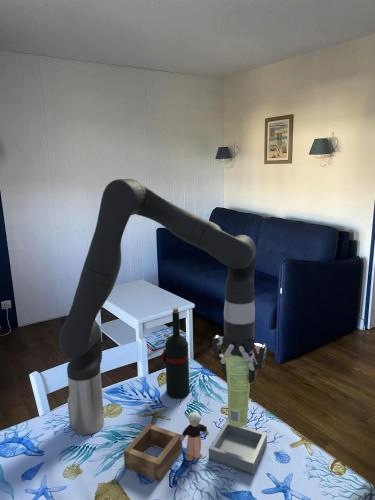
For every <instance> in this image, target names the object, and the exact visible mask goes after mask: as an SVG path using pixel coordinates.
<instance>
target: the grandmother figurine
mask: <svg viewBox="0 0 375 500" xmlns="http://www.w3.org/2000/svg"><path fill="white" fill-rule="evenodd" d="M187 419H188V422H189V425H187V426H186V428H185V429H184V430H183V431H182V434H181V435H182V436H181V438H180V440H181V441H182V442H184V440H185V438H186V437H187V439H186V454H185V461H190V462H191V461H192V460H193V459H195V458H196V459H200V458H202V457H203V454H202V452H201V449H202V435H201V432H203V433H204V434H205V435H206V436H209V434H210V433H209V430H208V428H207V426H206V425H204V424H201V423H200V421H201V420H202V417H201V415H200V414H199V413H197V412H195V411H193V412H190V413H189V415H188V417H187Z"/></svg>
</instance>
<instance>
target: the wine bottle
mask: <svg viewBox="0 0 375 500" xmlns="http://www.w3.org/2000/svg"><path fill="white" fill-rule="evenodd" d="M164 346H165V347H164V348H163V350H162V351H163V352H162V353H161V360H162V362H163V363H162V368H164V365H165V381H166V382H165V386H166V387H165V388H166V395H167V397H168V398H170V399H175V400H179V399H180V400H181V399H184V398H186V397H188V396H189V395H190V391H191V390H190V367H189V365H190V363H189V360H190V359H189V343H188V340H187V339H186V337H184V336H183V335H181V333H180V312H179V308H178V307H174V308H172V335H170V336H169V337H168V338H167V340H166V341H165V344H164ZM163 374H164V370H162V372H161V376H160V378H159V380H162V377H163V376H164V375H163Z"/></svg>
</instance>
